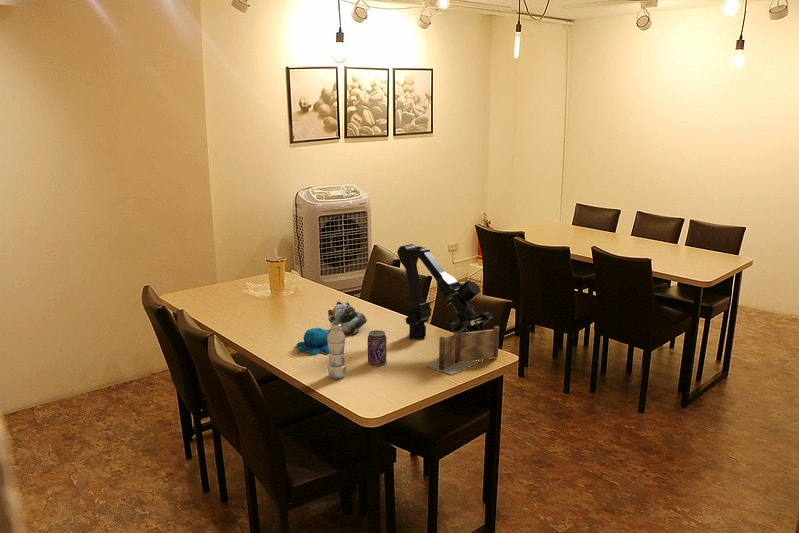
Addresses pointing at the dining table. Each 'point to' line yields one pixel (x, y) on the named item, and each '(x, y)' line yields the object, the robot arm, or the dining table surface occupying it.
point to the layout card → (453, 366)
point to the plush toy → (314, 342)
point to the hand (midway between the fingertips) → (484, 341)
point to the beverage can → (377, 347)
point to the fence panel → (478, 344)
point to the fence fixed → (448, 350)
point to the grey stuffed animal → (347, 318)
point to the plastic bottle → (336, 351)
